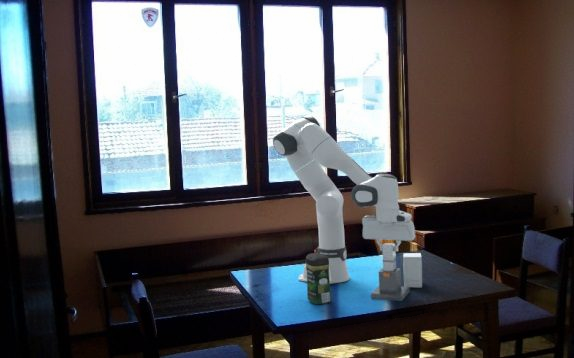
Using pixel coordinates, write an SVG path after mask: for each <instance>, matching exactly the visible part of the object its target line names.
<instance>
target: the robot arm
mask: <svg viewBox="0 0 574 358" xmlns="http://www.w3.org/2000/svg"><path fill="white" fill-rule="evenodd" d="M272 139H273V140H272V144H273V145H272V146H273V148H274V150H275V151H276V152H277V153H278V154H279V155H280V156H283V157H286V160H287V162H288V165H289V166H290V168H291V170H292V171H293V173H294V174H295V176H296V177H297V179H298V180H299V181H300V183H301V185H302V186H303V187H304V189H305V190H306V191H307V192H308V194H310V196H311V197H312V198H313V200H315V211H316V212H315V213H316V221H317V228H318V246H317V247H316V248H315V249H313V251H314V253H318V254H321V255H324V256H326V257H328V259H329V282H330V285H331V284H338V283H344V282H347V281H349V280H350V279H351V276H350V274H349V270H348V265H347V248H346V247H347V246H346V245H345V244H346V242H345V228H344V216H343V215H344V213H343V205H344V202H345V201H344V196H343V195H342V193H341V191H340V190H339V189H338V188H337V186H336V185H335V183H334V182H333V181H332V179H331V178H330V177H329V176H328V174H327V173H326V171H325V170H324V168H328V169H333V170H337V171H340V172H342V173H344V174H345V175H346V177H348V178H349V179H350V180H351V181H352V182H353V183H354V184H356V185H355V186H354V187H353V188H352V190H351V193H350V194H351V195H350V197H351V201H352V202H353V204H354V205H356V206H357V207H359V208H369V207H372V206H373V207H375V212H376V213H375V215H374V214H373V215H369V214H366V215H365V216H363V217H362V219H361V221H362V222H361V224H362V238H363V239H364V240H376V244H377V245H378V247H379V252H383V250H382V245H383V244H382V240H384V241H395V246H394V247H393V249H394V250H393V251H395V252H399V246H401V245H400V244H401V243H402V241H406V242H408V241H409V242H412V241H414V240H415V239H416V228H415V225H414V222H413V221H412V218H413V217H412V214H411V213H409V212H406V211H403V210H400V205H399V196H400V193H399V192H400V191H399V185H398V179H397V177H396V176H395V175H393V174H390V173H383V172H382V173H377V174H376V175H375V176H374V177H373V176H372V175H370V174H369V173H368V172H367V171H366V170H365V169H364V168H362V167H361V165H360V164H359V163H357V161H355V160H354V159H353V158H352V157H351V156H350V155H349V154H348V153H347V152H346V151H345V150H344V149H343V148H342V147H341V146H340V145H339V143H337V141H336V140H335V139H334V138H333V137H332V136H331V135H330V134H329V133H328V132H327V131H326V130H325V129H323V128H322V127H321V125H320V123H319V121H318V120H317V119H316V118H315V117H314V116H312V115H305V116H302V117H301V118H299V119H297V120H295V121H293V122H291V123H290V124H289V125H287V126H286V127H285V128H283V129H282V130H281V131H278V132H277V133H276V134H275V136H274V137H273V138H272ZM323 167H324V168H323ZM302 272H303V273H300V275H299V276H298V281H300V282H306V283H307V269H306V263H305V265H304V267H303V271H302Z"/></svg>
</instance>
